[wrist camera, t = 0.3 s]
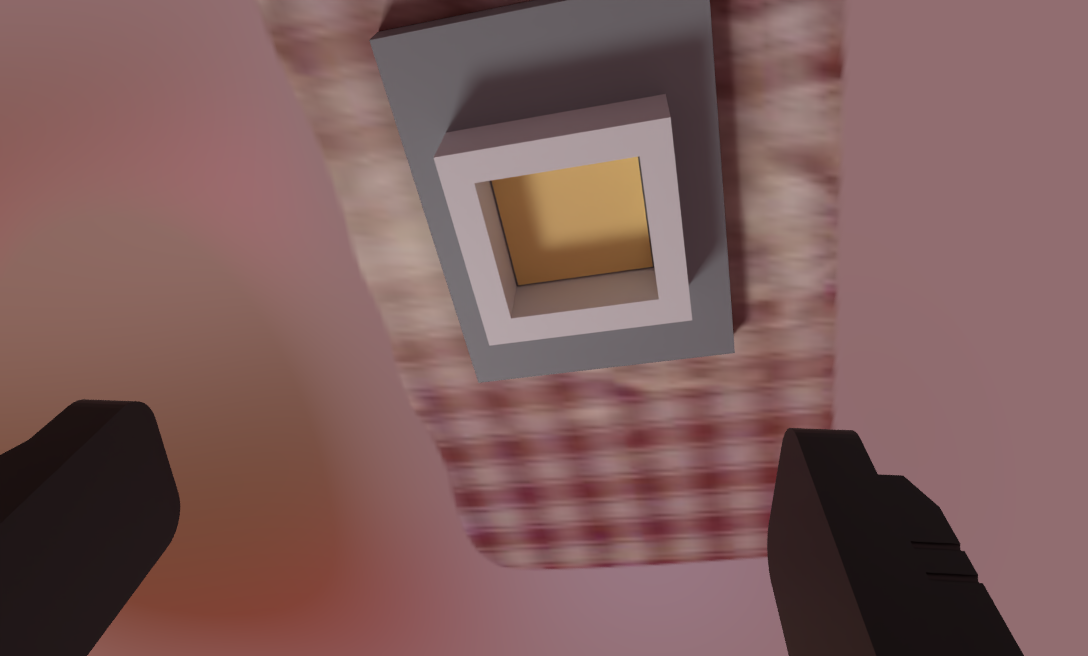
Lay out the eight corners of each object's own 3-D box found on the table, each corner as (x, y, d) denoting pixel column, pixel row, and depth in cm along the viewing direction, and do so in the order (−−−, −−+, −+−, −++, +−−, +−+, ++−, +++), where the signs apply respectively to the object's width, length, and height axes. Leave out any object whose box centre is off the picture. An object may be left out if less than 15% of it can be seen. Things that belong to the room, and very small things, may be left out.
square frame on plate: (377, 31, 28) (350, 59, 25) (703, -35, 26) (716, -14, 23) (481, 367, 37) (470, 417, 34) (731, 337, 35) (743, 388, 32)
